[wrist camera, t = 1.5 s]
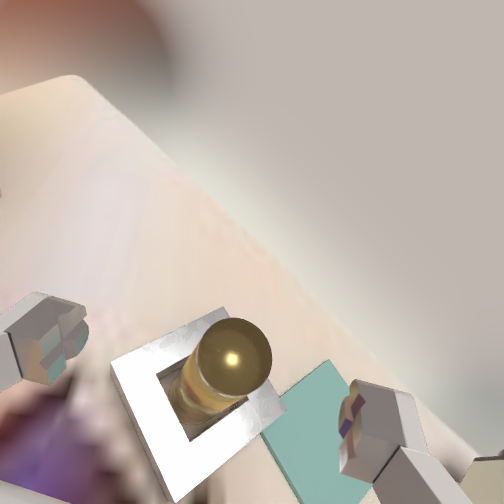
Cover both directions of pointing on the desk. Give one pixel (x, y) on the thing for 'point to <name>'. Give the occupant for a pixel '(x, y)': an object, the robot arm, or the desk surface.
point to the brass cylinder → (220, 370)
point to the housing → (165, 421)
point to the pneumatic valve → (485, 480)
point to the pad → (314, 440)
